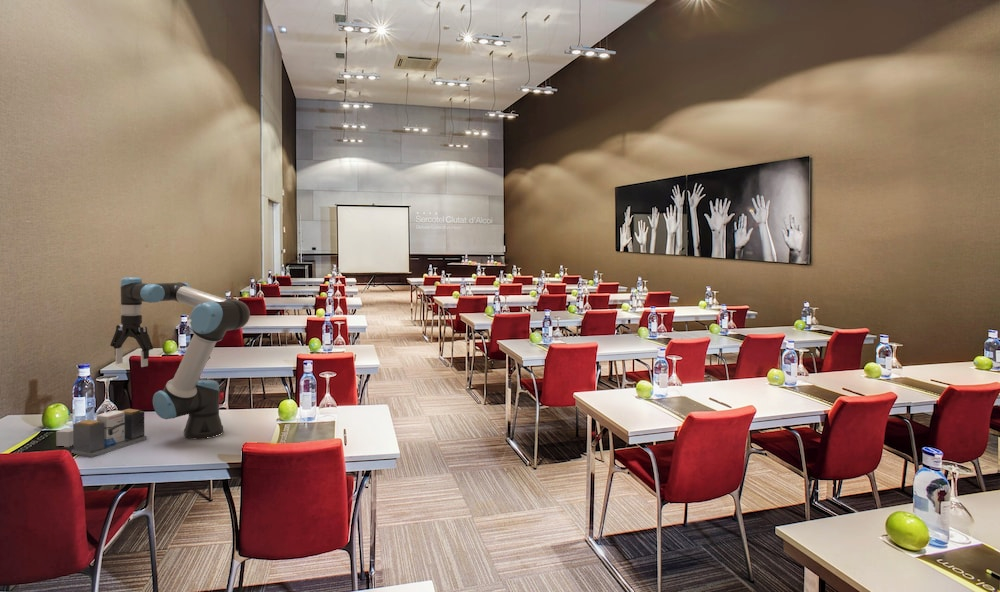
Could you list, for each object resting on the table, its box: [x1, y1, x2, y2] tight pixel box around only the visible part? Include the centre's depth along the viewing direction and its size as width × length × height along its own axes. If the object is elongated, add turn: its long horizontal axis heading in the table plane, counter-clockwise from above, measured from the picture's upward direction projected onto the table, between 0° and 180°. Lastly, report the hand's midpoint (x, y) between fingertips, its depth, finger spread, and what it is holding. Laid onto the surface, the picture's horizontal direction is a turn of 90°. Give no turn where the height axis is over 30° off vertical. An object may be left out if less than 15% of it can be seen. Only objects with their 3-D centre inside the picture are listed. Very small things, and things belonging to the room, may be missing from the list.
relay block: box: [55, 427, 73, 448], centre depth 241 cm, size 5×5×6 cm
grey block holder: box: [71, 408, 147, 458], centre depth 241 cm, size 10×24×12 cm, turn 163°
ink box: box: [96, 410, 125, 446], centre depth 241 cm, size 8×5×12 cm, turn 165°
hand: (131, 365), depth 258 cm, fingers open, 13 cm apart
